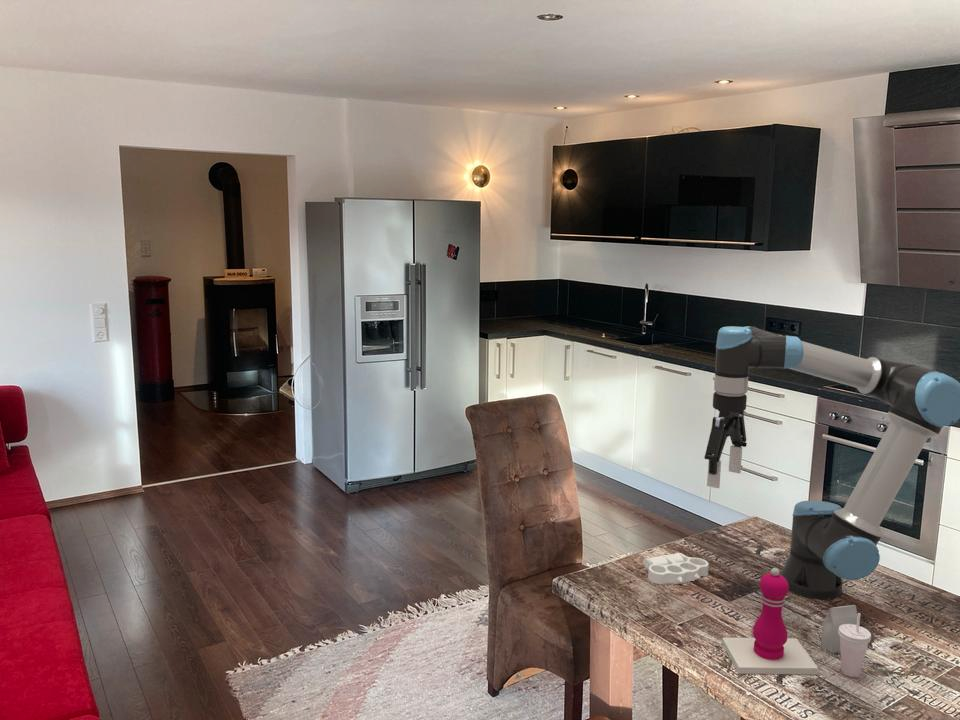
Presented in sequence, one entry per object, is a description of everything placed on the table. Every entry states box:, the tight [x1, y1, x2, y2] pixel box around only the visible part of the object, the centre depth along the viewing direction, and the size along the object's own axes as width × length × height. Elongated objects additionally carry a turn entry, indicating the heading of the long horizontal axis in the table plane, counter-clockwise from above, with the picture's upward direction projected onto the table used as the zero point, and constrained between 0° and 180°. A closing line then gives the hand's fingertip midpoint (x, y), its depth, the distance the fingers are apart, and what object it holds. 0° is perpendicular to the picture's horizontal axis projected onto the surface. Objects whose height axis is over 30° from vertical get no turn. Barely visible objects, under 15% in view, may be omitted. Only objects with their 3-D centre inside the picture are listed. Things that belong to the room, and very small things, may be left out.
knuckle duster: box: [642, 552, 710, 585], centre depth 214 cm, size 3×18×15 cm
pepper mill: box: [752, 567, 790, 660], centre depth 171 cm, size 7×7×20 cm
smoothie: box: [838, 612, 872, 678], centre depth 167 cm, size 6×6×14 cm
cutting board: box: [721, 637, 819, 676], centre depth 173 cm, size 17×12×2 cm
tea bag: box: [820, 604, 860, 654], centre depth 177 cm, size 4×7×10 cm, turn 104°
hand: (724, 479), depth 187 cm, fingers open, 13 cm apart
